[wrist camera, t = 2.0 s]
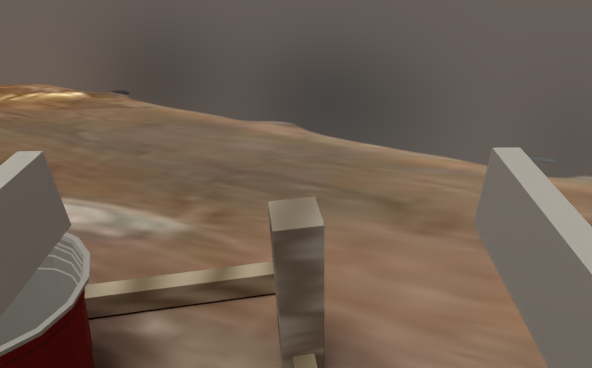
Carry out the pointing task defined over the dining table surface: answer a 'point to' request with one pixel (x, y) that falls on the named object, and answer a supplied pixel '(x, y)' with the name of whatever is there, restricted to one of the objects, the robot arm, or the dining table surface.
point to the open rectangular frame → (247, 284)
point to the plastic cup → (50, 314)
